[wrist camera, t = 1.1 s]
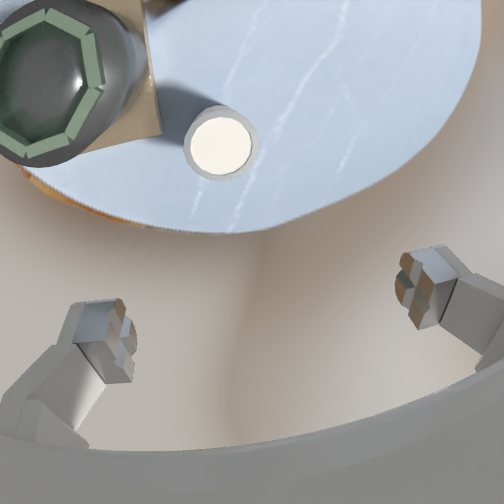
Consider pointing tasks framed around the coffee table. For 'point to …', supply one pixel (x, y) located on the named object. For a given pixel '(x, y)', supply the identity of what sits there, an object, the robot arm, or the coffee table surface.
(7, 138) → the green-rimmed dark canister
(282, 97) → the coffee table surface
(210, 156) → the white cylinder
